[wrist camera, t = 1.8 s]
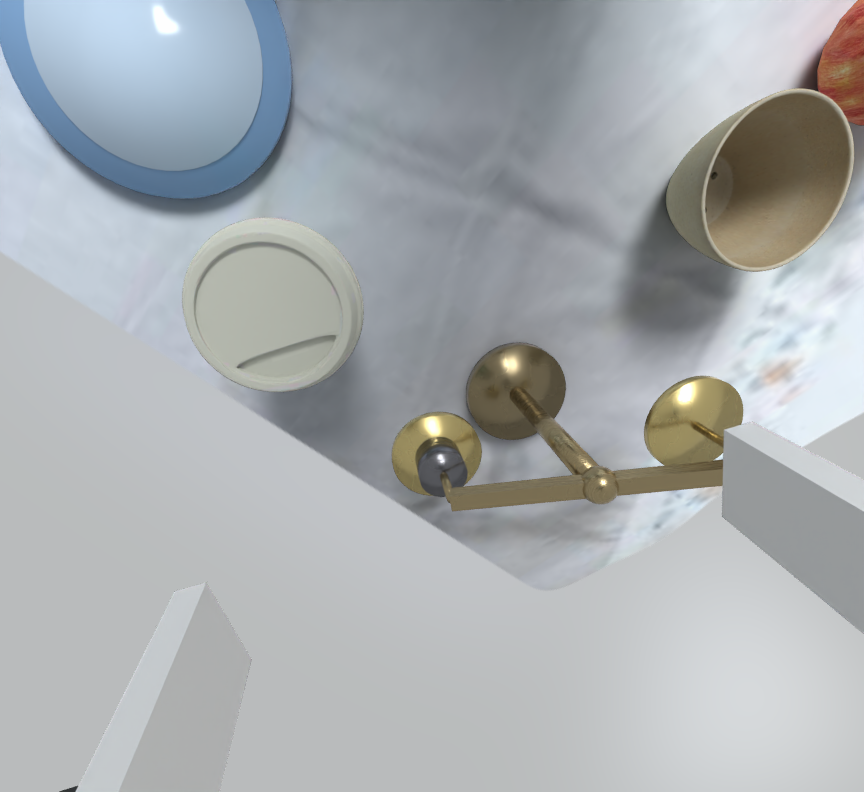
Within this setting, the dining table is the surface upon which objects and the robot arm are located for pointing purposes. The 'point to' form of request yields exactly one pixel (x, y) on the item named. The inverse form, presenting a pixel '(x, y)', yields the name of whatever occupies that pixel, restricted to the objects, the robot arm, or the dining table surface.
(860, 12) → the fruit
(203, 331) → the coffee cup
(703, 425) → the balance
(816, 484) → the robot arm
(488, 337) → the dining table surface
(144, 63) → the dish
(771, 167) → the flower pot
